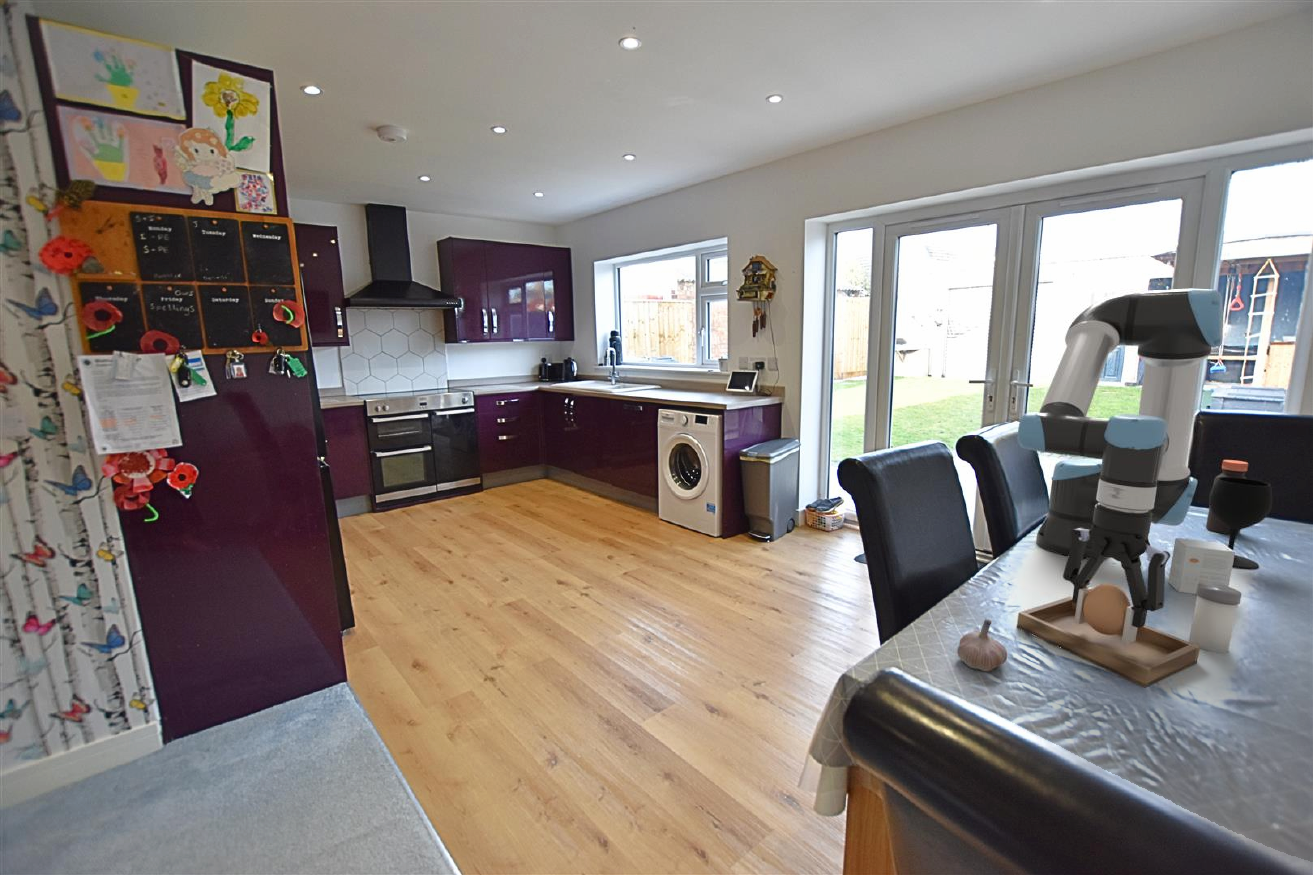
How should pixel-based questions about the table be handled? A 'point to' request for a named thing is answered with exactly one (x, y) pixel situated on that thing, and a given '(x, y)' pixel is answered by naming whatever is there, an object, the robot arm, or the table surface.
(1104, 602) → the egg
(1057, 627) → the tray
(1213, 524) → the bottle
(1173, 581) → the small box
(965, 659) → the garlic bulb
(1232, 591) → the shaker
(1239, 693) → the table surface
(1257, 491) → the wine glass
